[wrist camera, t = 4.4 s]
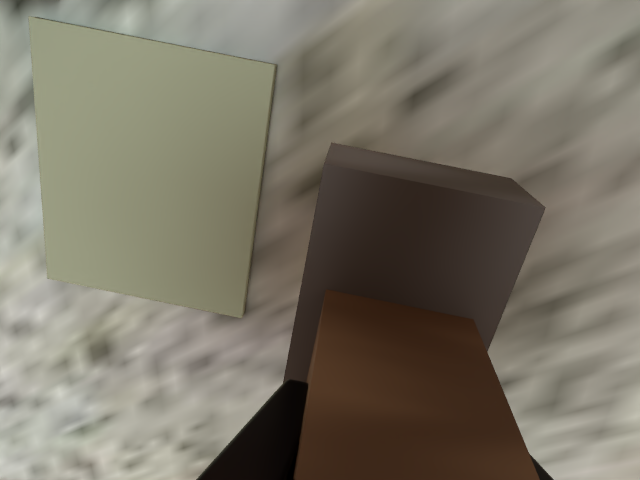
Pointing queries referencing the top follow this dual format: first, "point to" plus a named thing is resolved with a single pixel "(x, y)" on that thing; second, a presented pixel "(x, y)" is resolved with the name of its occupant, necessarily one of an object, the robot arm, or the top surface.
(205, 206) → the mat
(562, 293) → the top surface
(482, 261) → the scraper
